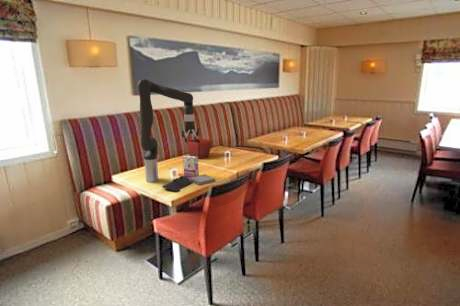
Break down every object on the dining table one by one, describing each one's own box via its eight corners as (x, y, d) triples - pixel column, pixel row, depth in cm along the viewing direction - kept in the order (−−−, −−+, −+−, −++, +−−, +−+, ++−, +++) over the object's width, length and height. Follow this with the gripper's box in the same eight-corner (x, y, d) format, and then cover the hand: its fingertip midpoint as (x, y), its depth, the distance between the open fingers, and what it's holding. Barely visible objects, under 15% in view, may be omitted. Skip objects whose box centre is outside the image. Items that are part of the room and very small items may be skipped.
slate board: (189, 180, 222) (189, 177, 222) (205, 176, 230) (205, 174, 230) (198, 185, 211) (198, 182, 211) (214, 181, 219) (214, 178, 219)
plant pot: (199, 154, 306) (198, 138, 302) (213, 156, 294) (212, 140, 290) (185, 157, 291) (184, 141, 287) (199, 160, 279) (198, 143, 276)
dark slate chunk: (158, 189, 206) (158, 182, 205) (178, 180, 225) (177, 174, 224) (176, 192, 199) (176, 185, 198) (194, 182, 218) (194, 176, 217)
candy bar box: (199, 176, 231) (198, 156, 227) (195, 178, 226) (194, 158, 223) (187, 175, 236) (186, 155, 232) (183, 176, 232) (182, 156, 228)
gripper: (196, 119, 227) (197, 140, 231) (178, 120, 220) (179, 142, 224) (200, 120, 221) (201, 141, 225) (182, 121, 214) (183, 144, 218)
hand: (190, 142), depth 224 cm, fingers open, 6 cm apart
